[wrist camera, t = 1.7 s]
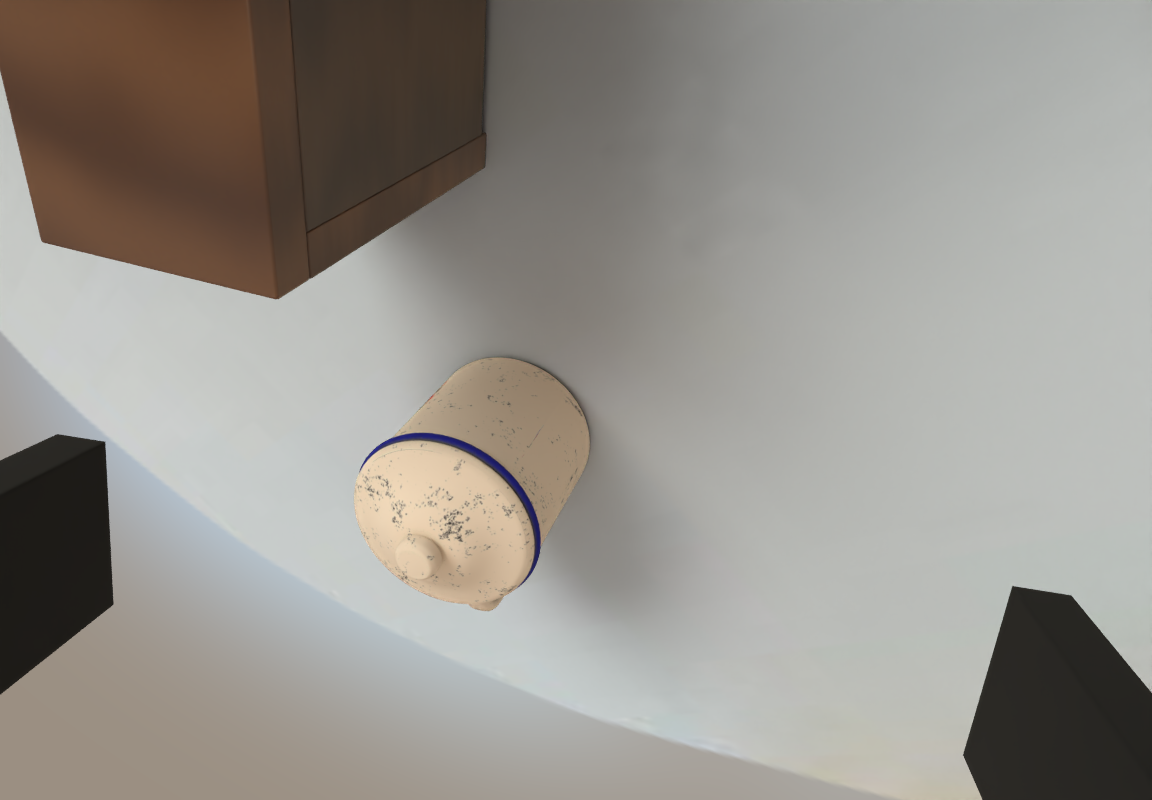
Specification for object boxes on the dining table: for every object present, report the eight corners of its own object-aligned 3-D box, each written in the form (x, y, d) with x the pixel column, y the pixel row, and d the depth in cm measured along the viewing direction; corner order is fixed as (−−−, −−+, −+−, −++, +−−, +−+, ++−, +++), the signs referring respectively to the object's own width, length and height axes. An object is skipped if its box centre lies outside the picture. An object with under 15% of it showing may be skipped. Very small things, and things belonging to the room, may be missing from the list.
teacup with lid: (425, 344, 46) (297, 462, 36) (590, 356, 43) (499, 488, 33) (457, 528, 52) (353, 673, 42) (605, 550, 49) (530, 710, 39)
